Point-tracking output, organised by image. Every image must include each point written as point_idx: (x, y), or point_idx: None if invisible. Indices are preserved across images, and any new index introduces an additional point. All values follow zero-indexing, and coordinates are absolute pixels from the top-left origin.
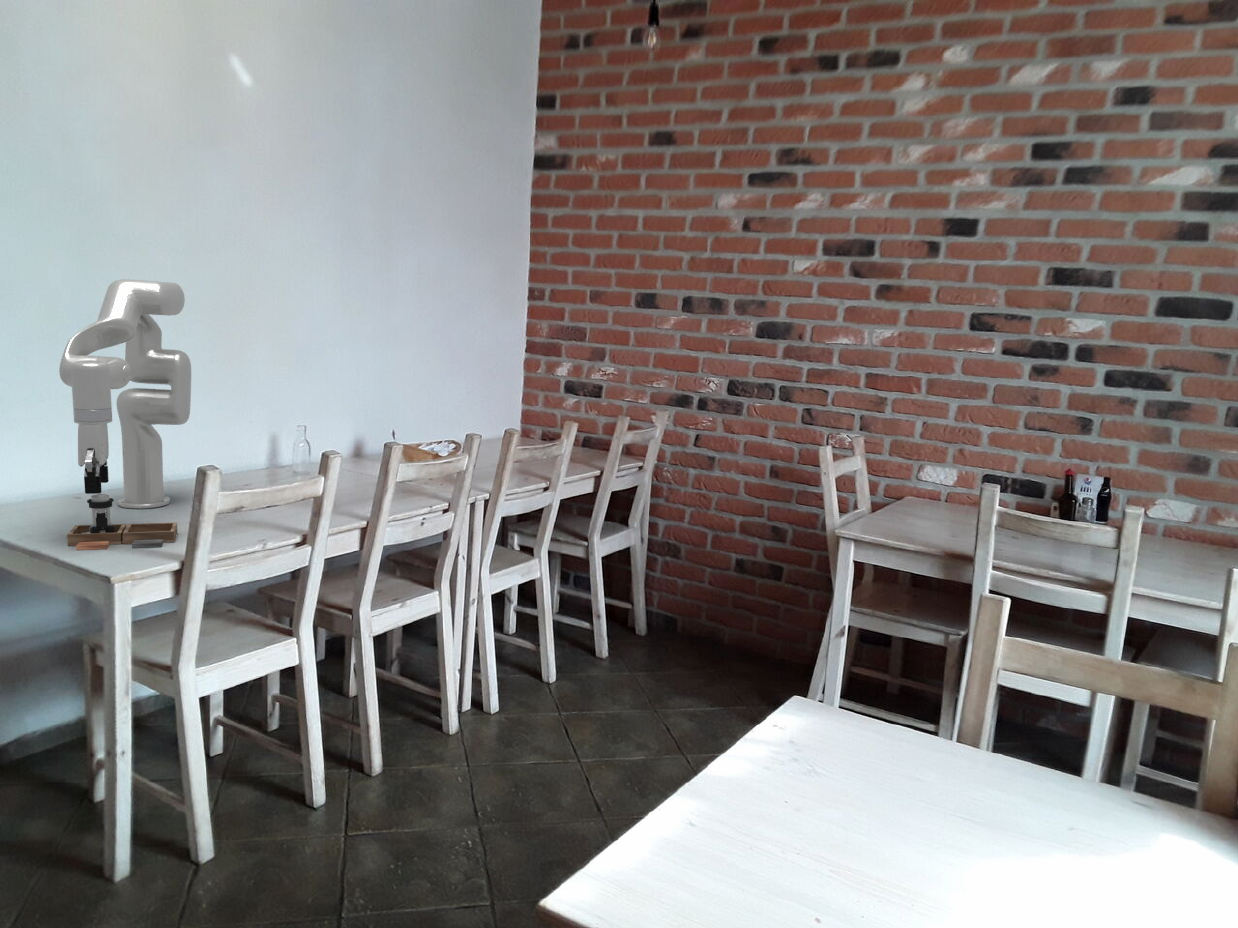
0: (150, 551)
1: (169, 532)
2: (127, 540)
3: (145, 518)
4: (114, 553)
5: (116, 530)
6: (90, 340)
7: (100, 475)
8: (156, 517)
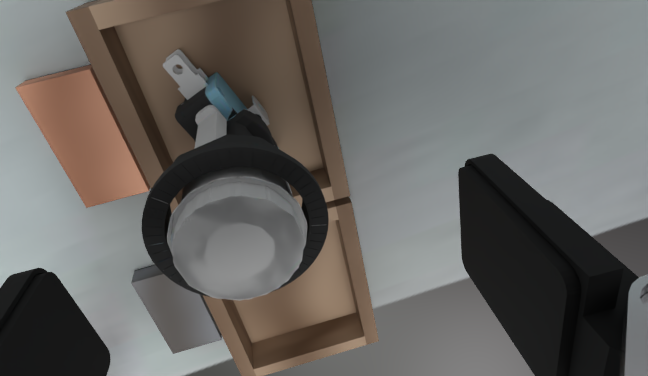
0: (110, 335)
1: (240, 369)
2: None
3: (593, 136)
4: (38, 247)
5: (321, 153)
6: None
7: (498, 268)
8: (599, 168)
